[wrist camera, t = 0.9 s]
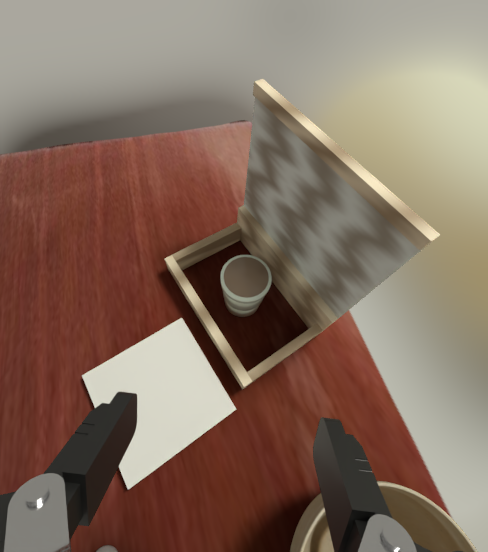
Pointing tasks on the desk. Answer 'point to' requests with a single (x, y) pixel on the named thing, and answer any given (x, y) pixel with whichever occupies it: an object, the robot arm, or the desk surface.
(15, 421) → the desk surface
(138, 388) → the concrete tile
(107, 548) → the round bodied animal figurine
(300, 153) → the cold frame
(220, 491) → the desk surface
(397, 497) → the planter bowl
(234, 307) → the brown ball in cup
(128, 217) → the desk surface
